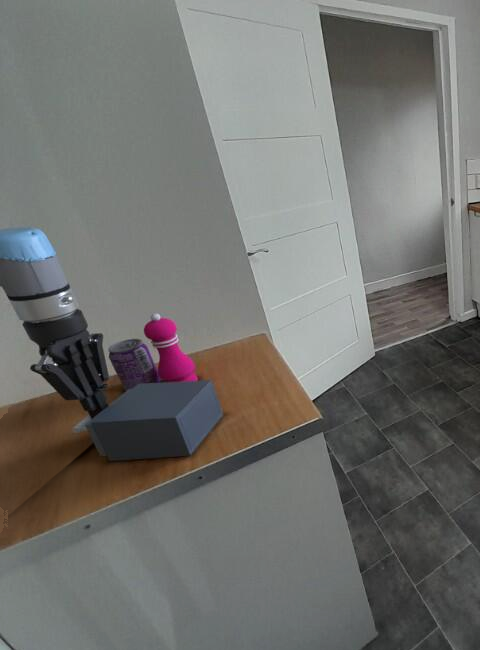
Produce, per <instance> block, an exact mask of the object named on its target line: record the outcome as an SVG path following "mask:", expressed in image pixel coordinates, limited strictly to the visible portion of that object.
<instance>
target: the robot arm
mask: <svg viewBox="0 0 480 650" xmlns="http://www.w3.org/2000/svg"><path fill="white" fill-rule="evenodd" d="M0 288H2V289H3V291H4V293H5V295H6V297H7V300H9V302H10V304H11V306H12V308H13V311H14V312H15V314H16V316H17V318H18V319H19V321H22V324H21V325H22V327H23V329H24V331H25V332H26V335H27V336H28V339H29V340H30V341H32V342H33V343H35V344H36V345H37V346H38V353H39V355H40V359H39V360H38V362H37V363H33V364H31V365H30V368H29V369H30V371H31V372H33V373H36V374H38V375H40V376H41V377H42V379H44V380H45V381H46V382H47V383H48V385H50V386H51V387H52V388H53V389H54V390H55V392H57V394H59V396H60V397H61V398H63V399H64V401H79V403H80V406H81V407H82V409H83V411H85V412H87V413H88V415H90V417H91V419H93V418H94V417H95V416H96V415H98V414H99V413H100V412H101V411H103V410H104V409H105V408H106V407H108V406H109V404H108V397H107V395H106V393H105V391H104V389H107V388H108V383H105V382H107V381H109V379H110V375H109V370H108V365H107V361H106V356H105V350H104V346H103V343H104V334H103V333H102V332H98V333H90V332H89V330H88V327H89V324H88V322H87V320H86V317H85V315H84V313H83V311H82V310H81V309H79V307H80V306H79V303H78V301H77V299H76V297H75V295H74V292H73V290H72V288H71V285H70V284H69V282H68V280H67V276H66V275H65V273H64V270H63V268H62V265H61V263H60V261H59V258H58V256H57V252H56V250H55V248H54V247H53V245H52V244H51V242H50V241H49V239H48V237H47V235H46V234H45V233H44V231H43V230H41V229H39V228H36V227H14V228H1V229H0Z"/></svg>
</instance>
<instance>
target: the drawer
mask: <svg viewBox="0 0 480 650" xmlns="http://www.w3.org/2000/svg"><path fill="white" fill-rule="evenodd" d="M130 390H132V389H129V390H127V391H125V392H124V393H123V394H121V395H119V396H118V397H117V398H116V399H115V400H113V401H112V402H111V403H110V404H108V407H106V408H105V409H104V410H103V411H101V412H100V413H99V414H98V415H96V416H95V417H94V418H93V419H91V417H90V415H89V414H88V415H87V416H86V417H85V418H83V419H82V420H81V421H80V422H78V423H77V424H75V426H73V427H72V428H71V432H72V433H73V434H80V433H82V432H84V431H85V432H86V431H87V432H88V434H89V436H90V438H91V440H92V443H93V444H94V446H95V448H96V449H97V450H96V451H97V452H98V454H99V456H100V457H108V455H107V453H106V451H105V449H104V447H103V445H102V443H101V441H100V439H99V437H98V435H97V433H96V431H95V429H94V427H93V425H92V423H91V422H92V421H94V420H95V419H96V418H97V417H99V416H100V415H101V414H102V413H103V412H105V411H106V410H107V409H108V408H110V407H111V406H112V405H113V404H115V403H116V402H117V401H118V400H119V399H121V398H122V397H123V396H124V395H126V394H127V393H128V392H129V391H130Z"/></svg>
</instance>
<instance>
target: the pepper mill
mask: <svg viewBox="0 0 480 650" xmlns="http://www.w3.org/2000/svg"><path fill="white" fill-rule="evenodd" d="M177 330H178V326H177V325H176V323H175V322H174V321H173V320H172V319H170V318H167V317H161V315H160V314H159V313H153V314H151V315H150V320H149V321H148V322H147V323H146V324H145V325H144V326H143V334H144V336H145V337H146V338H147V339H148V340H151V341H150V343H151V345H152V347H153V348H154V349H156V350H157V353H158V355H159V356H158V357H159V360H158V364H157V370H158V375H159V377H160V378H161V380H162V381H165V382H185V381H198V376H197V374H196V372H195V369H196V364H195V363H194V361H193V360H192V359H191V358H190V357H189V356H188V355H187V354H185V352H183V351H182V349H181V348H180V347H179V343H178V341H180V340H179V337H178V334H177Z"/></svg>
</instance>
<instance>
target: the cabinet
mask: <svg viewBox="0 0 480 650" xmlns="http://www.w3.org/2000/svg"><path fill="white" fill-rule="evenodd" d="M223 416H224V413H223V410H222V407H221V405H220V402H219V399H218V395H217V392H216V389H215V386H214V384H213V380H212V379H208V380H207V379H206V380H205V379H204V380H197V381H185V382H158V383H144V384H138V385H137V386H135V387H134V388H133V389H132V390H130V391H129V392H128V393H127V394H126V395H124V396H123V397H122V398H121V399H119V400H118V401H117V402H116V403H115V404H113V405H112V406H111V407H110V408H108V409H107V410H106V411H105V412H103V413H102V414H101V415H100V416H99V417H97V418H96V419H95V420H94V421H92V422H91V423H92V425H93V427H94V429H95V431H96V433H97V435H98V437H99V439H100V441H101V443H102V445H103V447H104V449H105V451H106V453H107V457H108V459H109V462H117V461H118V462H119V461H133V460H143V459H144V460H146V459H160V458H161V459H162V458H175V457H176V458H177V457H190V456H192V455H193V453H194V452H195V451H196V449H197V448H198V447H199V446H200V445H201V444H202V442H203V441H204V440H205V438H206V437H207V436H208V434H209V433H210V432H211V431H212V430H213V428H214V427H215V426H216V425H217V423H218V422H219V421H220V419H222V417H223Z"/></svg>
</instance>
